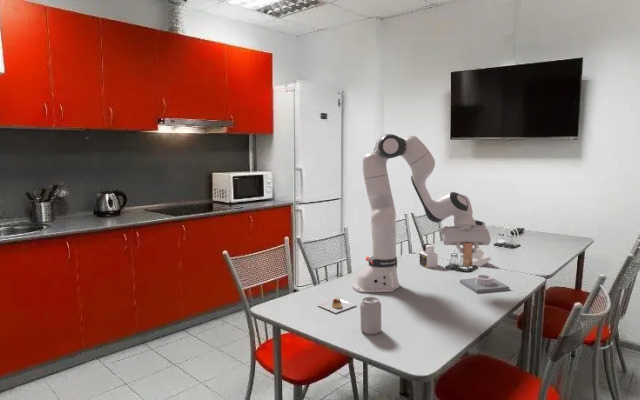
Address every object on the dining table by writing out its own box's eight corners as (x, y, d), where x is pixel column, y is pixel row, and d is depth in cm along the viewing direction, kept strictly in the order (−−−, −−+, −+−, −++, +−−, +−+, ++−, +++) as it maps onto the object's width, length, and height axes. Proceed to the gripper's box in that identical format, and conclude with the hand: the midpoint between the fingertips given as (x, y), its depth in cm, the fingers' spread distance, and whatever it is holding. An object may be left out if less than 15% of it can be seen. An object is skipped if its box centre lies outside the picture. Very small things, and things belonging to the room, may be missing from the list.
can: (379, 326, 157) (379, 295, 155) (383, 335, 149) (382, 302, 148) (359, 327, 156) (358, 296, 155) (362, 336, 149) (361, 303, 147)
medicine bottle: (419, 264, 234) (419, 243, 233) (430, 263, 236) (430, 242, 235) (426, 268, 227) (426, 246, 226) (437, 266, 229) (437, 245, 228)
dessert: (316, 307, 178) (316, 296, 178) (337, 300, 186) (337, 289, 185) (335, 315, 169) (335, 304, 168) (357, 307, 177) (356, 296, 176)
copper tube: (465, 266, 184) (465, 244, 183) (461, 264, 188) (461, 242, 187) (474, 266, 185) (474, 243, 184) (469, 263, 189) (469, 241, 188)
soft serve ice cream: (469, 270, 226) (462, 245, 226) (461, 265, 241) (454, 241, 241) (492, 264, 225) (484, 239, 225) (483, 259, 240) (476, 235, 240)
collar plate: (476, 293, 188) (476, 283, 187) (459, 282, 202) (459, 273, 202) (509, 289, 190) (509, 280, 190) (490, 279, 205) (490, 270, 205)
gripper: (441, 222, 193) (444, 248, 185) (488, 222, 189) (493, 248, 181) (440, 230, 198) (443, 256, 189) (486, 230, 194) (490, 256, 186)
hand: (468, 252), depth 185 cm, fingers closed on copper tube, 4 cm apart
